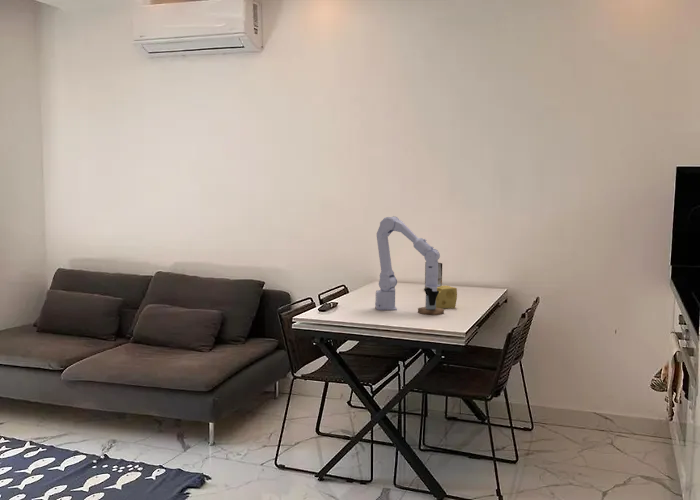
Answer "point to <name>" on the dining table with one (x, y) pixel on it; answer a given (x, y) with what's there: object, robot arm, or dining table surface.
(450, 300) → the cheese
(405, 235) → the robot arm
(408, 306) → the dining table surface
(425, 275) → the coffee box
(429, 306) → the block
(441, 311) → the disc
